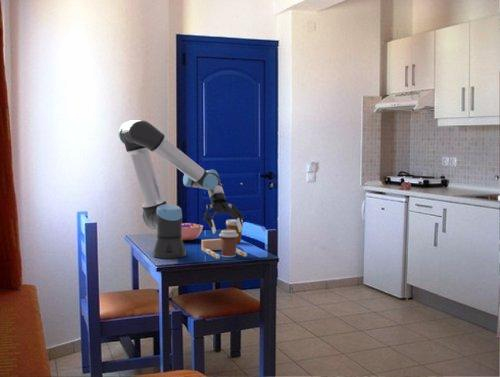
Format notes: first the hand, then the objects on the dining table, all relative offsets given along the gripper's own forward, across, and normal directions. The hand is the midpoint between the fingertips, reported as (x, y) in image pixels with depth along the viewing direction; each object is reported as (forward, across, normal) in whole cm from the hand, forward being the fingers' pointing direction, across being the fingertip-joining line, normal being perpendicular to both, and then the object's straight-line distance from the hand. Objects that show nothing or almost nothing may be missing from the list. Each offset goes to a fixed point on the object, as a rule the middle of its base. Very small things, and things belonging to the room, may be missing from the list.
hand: (227, 231), depth 283 cm
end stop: (0, +2, -15) cm, 15 cm away
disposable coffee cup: (-9, -13, -25) cm, 29 cm away
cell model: (-20, +9, -37) cm, 43 cm away
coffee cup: (+13, +2, -2) cm, 13 cm away
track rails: (+8, +2, -6) cm, 11 cm away
